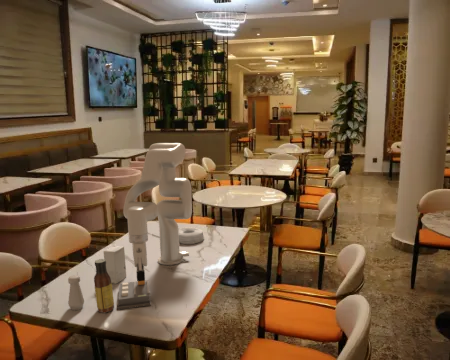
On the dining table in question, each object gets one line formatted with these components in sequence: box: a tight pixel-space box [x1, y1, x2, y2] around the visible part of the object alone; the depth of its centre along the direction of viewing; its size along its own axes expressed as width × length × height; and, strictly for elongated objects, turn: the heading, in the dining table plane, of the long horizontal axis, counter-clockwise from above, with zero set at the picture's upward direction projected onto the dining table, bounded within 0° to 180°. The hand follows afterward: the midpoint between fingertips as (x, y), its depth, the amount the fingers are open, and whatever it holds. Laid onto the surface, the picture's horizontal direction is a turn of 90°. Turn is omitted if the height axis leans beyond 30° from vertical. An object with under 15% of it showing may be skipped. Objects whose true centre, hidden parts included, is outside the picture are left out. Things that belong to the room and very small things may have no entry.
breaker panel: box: [118, 279, 151, 305], centre depth 161 cm, size 12×15×4 cm
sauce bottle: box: [93, 258, 115, 313], centre depth 149 cm, size 7×6×20 cm
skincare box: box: [103, 245, 127, 285], centre depth 176 cm, size 8×6×15 cm
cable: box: [178, 227, 205, 245], centre depth 231 cm, size 18×18×6 cm
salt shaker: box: [67, 274, 85, 312], centre depth 151 cm, size 6×6×13 cm
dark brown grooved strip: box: [117, 300, 151, 310], centre depth 152 cm, size 12×2×1 cm, turn 103°
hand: (141, 280), depth 160 cm, fingers closed
